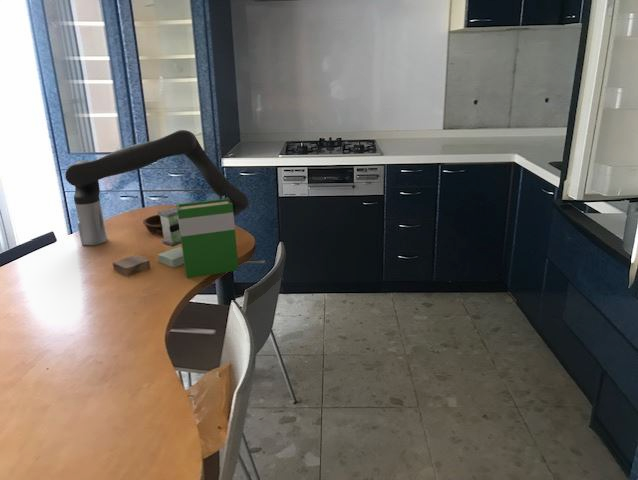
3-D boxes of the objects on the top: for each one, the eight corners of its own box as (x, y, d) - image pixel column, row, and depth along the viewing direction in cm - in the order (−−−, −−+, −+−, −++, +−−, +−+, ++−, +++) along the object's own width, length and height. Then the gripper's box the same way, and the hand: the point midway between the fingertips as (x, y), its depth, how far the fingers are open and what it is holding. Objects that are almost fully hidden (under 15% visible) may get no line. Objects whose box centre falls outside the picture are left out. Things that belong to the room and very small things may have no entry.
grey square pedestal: (172, 247, 180) (167, 214, 175) (162, 243, 183) (157, 212, 179) (186, 241, 184) (181, 210, 180) (176, 238, 188) (171, 207, 183)
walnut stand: (127, 276, 174) (126, 268, 173) (113, 270, 180) (112, 262, 179) (150, 268, 180) (149, 260, 179) (136, 262, 186) (135, 254, 185)
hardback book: (235, 262, 183) (228, 198, 174) (238, 270, 176) (232, 203, 168) (185, 270, 178) (176, 204, 169) (186, 278, 171) (177, 210, 163)
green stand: (173, 267, 180) (172, 259, 179) (158, 261, 186) (157, 254, 185) (194, 259, 186) (193, 252, 185) (179, 254, 192) (178, 247, 191)
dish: (140, 239, 210) (138, 228, 208) (149, 223, 230) (147, 212, 228) (183, 236, 212) (181, 225, 210) (188, 220, 232) (187, 209, 231)
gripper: (191, 202, 195) (152, 214, 183) (215, 208, 186) (176, 221, 174) (193, 221, 197) (155, 234, 185) (217, 228, 188) (179, 241, 176)
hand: (165, 227), depth 180 cm, fingers closed on grey square pedestal, 5 cm apart
